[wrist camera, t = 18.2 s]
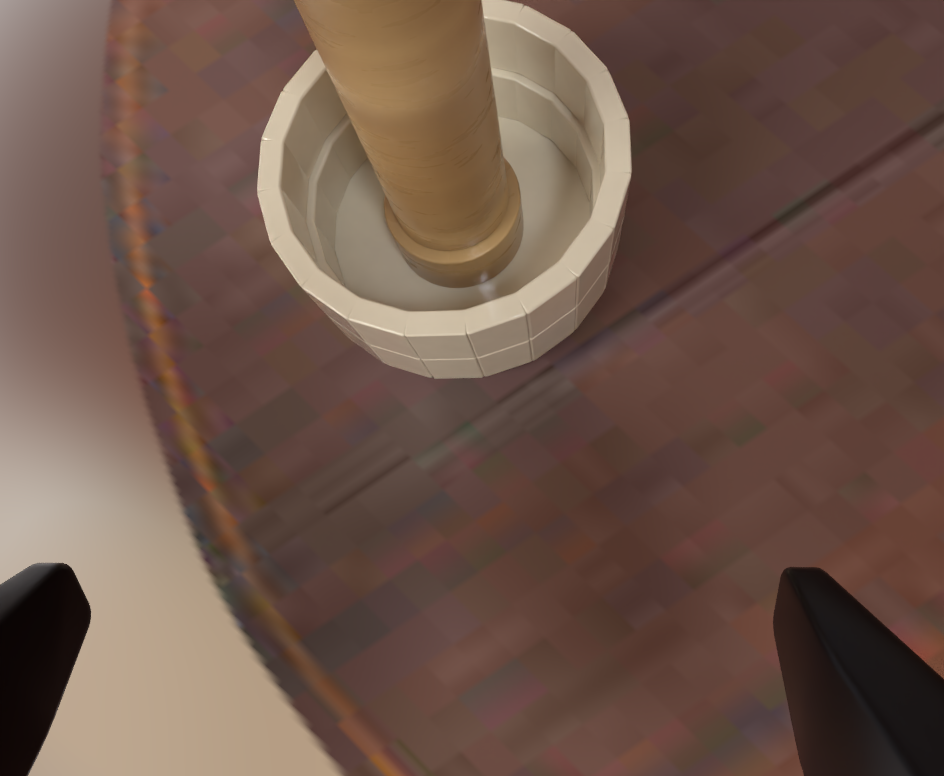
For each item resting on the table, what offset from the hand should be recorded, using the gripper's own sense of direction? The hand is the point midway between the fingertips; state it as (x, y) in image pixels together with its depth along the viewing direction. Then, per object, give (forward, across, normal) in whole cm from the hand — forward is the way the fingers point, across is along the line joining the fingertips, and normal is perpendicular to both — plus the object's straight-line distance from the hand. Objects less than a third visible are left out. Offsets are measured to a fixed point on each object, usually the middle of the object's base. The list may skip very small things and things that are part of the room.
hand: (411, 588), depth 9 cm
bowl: (+14, +1, +1) cm, 14 cm away
